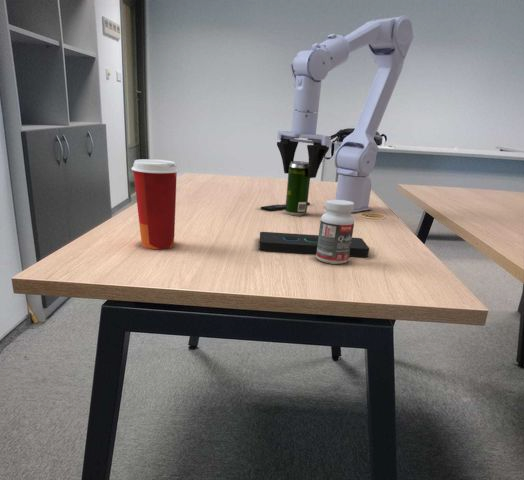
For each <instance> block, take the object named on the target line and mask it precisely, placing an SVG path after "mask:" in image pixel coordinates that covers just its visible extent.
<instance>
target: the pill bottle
mask: <svg viewBox="0 0 524 480" xmlns="http://www.w3.org/2000/svg"><path fill="white" fill-rule="evenodd" d="M325 210H326V211H325V213H323V214H322V215H321V217H320V221H319V229H318V235H319V238H318V246H317V253H316V254H315V257H316V259H317V260H319V261H320V262H323V263H326V264H331V265H340V264H346V263H347V262H348V261H349V258H350V256H349V254H350V247H351V240H352V237H353V234H354V227H355V219H354V217H353V216H352V213H351V212H352V211H353V210H354V203H353V202H351V201H346V200H335V199H328V200H326V201H325Z"/></svg>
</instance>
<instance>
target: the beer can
mask: <svg viewBox="0 0 524 480" xmlns="http://www.w3.org/2000/svg"><path fill="white" fill-rule="evenodd" d="M308 166H309V161H299V160H294V161H290V165H289V171H288V173H287V182H286V183H287V185H286V197H285V204H286V207H285V209H284V212H285V214H286V215H289V216H295V217H303V216H306V214H307V212H308V205H307V203H308V201H309V193H310V192H309V191H310V185H311V178H308Z"/></svg>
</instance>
